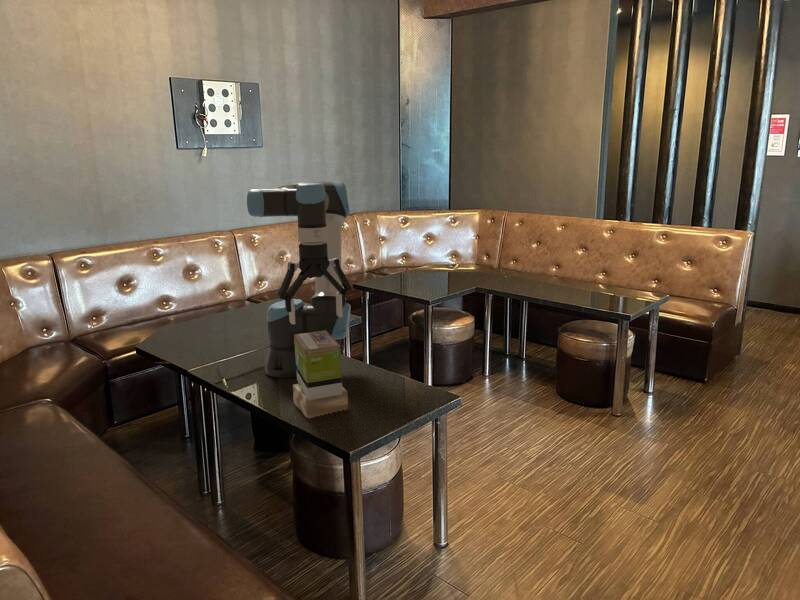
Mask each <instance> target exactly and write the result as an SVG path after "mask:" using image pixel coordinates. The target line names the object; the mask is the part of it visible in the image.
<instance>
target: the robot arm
mask: <svg viewBox="0 0 800 600" xmlns="http://www.w3.org/2000/svg"><path fill="white" fill-rule="evenodd" d="M348 199H349V198H348V192H347V185H346V184H345V183H344V182H342V181H333V180H332V181H300V182H293V183H289V184H284V185H280V186H278V187H277V188H256V189H250V190H249V191H248V192H247V195H246V208H247V212H248V215H250V216H251V217H259V218H267V217H269V218H270V217H273V218H274V217H297V235H298V236H297V237H298V242H299V244H298V257H299V258H298V259H299V261H298V262H292V261H289V262H288V263H287V271H286V273H285V276H284V278H283V280H282V283H281V286H279V291H278V293H277V297H278V298H279V299H281V300H280V301H276V302H274V303H272V304H270V305H269V306H268V307H267V310H266V311H267V315H266V316H267V317H266V322H267V330H268V331H267V335H268V344H269V347H268V348H269V349H268V352H267V357H266V361H265V363H264V364H265V365H264V369H265V370H264V371H265V374H266V375H268V376H269V377H273V378H277V379H278V378H279V379H287V378H288V379H292V378H297V370H296V356H295V344H294V334H303V333H310V332H317V331H324V330H326V331H327V332H328V333H329V334H330V335H331V336H332V337H333V338H334V339H335V340H342V339H345V338H346V337H347V335H348V333H349V328H350V321H351V304H350V303H348V302H347V298H346V294H347V293H348V291H351V290H352V286H351V284H350V282H349V280H348V279H347V277H346V275H345V273H344V271H343V269H342V226H343V225H344V224H345V223H346V221H347V220H346V218H348V217H350V216H351V213H350V211H351V210H350V205H349V200H348ZM297 269H299V270H300V272H299V273H298V275H297V277H296V279H295V280H294V281H293V278H294V275H295V272H297ZM308 278H309V279H314V278H315V279H314V280H315V281H314V282H315V284H314V285H315V287H314V288H315V289H314V290H315V292H314V295H313V296H311V297H310V303H308V304H304V301H303V300H302V299H301V298H293V297H294V296H295V294H296V293H297V292H298V290H299V289H300V287H301V286H302V284H303V283H304V282H305V281H306V280H307V279H308ZM292 281H293V283H292ZM291 283H292V285H291ZM290 285H291V286H290Z"/></svg>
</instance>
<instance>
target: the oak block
mask: <svg viewBox="0 0 800 600" xmlns="http://www.w3.org/2000/svg"><path fill="white" fill-rule="evenodd" d="M292 393H293V394H292V397H293V399H292V400H293V404H294V405H295V406H296V407H297V408H298V410H299V411H300V410H301V411H300V412H301V413H302V414H303V415H304V416H305V418H306V417H307V418H308V419H312V418H316V416H317V417H321V416H325V414H326V415H329V414H328V413H330V414H334V413H333V412H335V413H338V412H337V411H340V412H343V411H342V410H344V411H348V410H349V396H348V394H349V392H348V390H347V389H346V388H345V387H344V386H342V394H341V395H336V396H331V397H325V398H319V399H313V400H308V398H307V397H306V395H305V393H304V392H303V390H302V388H301V386H300V384H299V383H295V384H292ZM347 409H348V410H347ZM320 415H321V416H320ZM307 418H306V419H307Z"/></svg>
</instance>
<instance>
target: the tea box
mask: <svg viewBox="0 0 800 600" xmlns="http://www.w3.org/2000/svg"><path fill="white" fill-rule="evenodd" d="M294 344H295V356H296V370H297V377H296V381H297V384H300V386H301V388H302V390H303V392H304V393H305V395H306V397H307V398H308V400H313V399H319V398H325V397H331V396H336V395H341V394H342V387H343V379H342V378H343V376H342V374H343V373H342V361H341V360H342V358H341V355H342V353H341V345H340V343H338V342H337V340H336V339H334V338H333V337H332V336H331V335H330V334H329V333H328V332H327V331H326V330H324V331H317V332H310V333H303V334H294Z"/></svg>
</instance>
